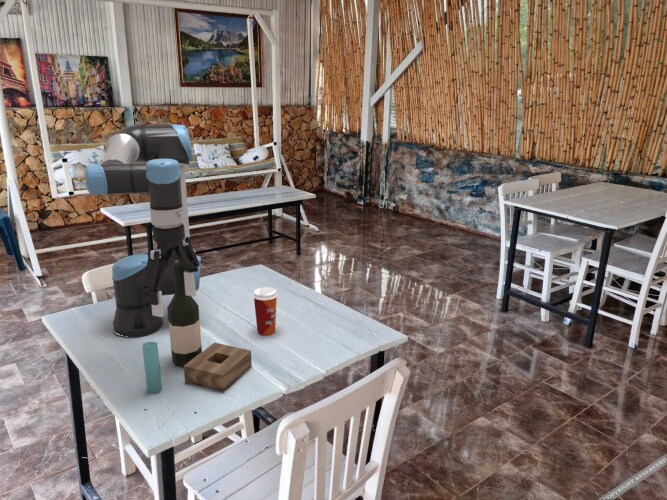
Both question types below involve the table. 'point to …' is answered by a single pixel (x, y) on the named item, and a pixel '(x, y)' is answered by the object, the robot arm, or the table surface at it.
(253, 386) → the table surface
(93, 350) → the table surface
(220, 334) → the table surface
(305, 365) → the table surface
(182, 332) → the wine bottle
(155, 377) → the pin
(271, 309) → the paper cup
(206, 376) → the bore block
